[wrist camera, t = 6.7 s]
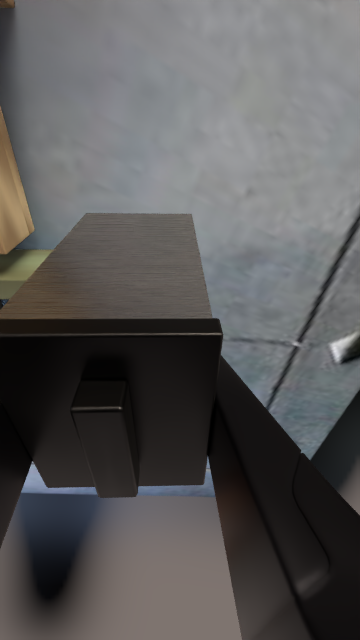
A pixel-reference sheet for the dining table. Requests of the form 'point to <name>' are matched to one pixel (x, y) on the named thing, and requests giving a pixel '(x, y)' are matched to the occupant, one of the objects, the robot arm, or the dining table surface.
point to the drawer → (14, 224)
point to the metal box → (114, 356)
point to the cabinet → (7, 4)
